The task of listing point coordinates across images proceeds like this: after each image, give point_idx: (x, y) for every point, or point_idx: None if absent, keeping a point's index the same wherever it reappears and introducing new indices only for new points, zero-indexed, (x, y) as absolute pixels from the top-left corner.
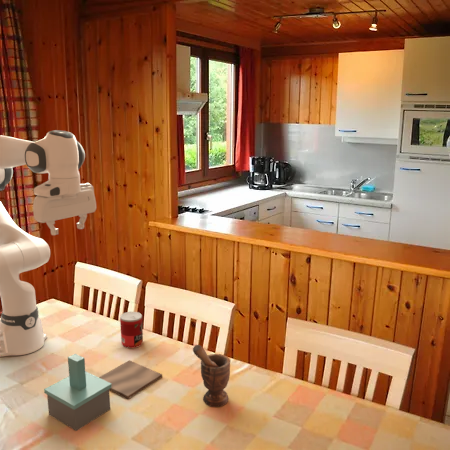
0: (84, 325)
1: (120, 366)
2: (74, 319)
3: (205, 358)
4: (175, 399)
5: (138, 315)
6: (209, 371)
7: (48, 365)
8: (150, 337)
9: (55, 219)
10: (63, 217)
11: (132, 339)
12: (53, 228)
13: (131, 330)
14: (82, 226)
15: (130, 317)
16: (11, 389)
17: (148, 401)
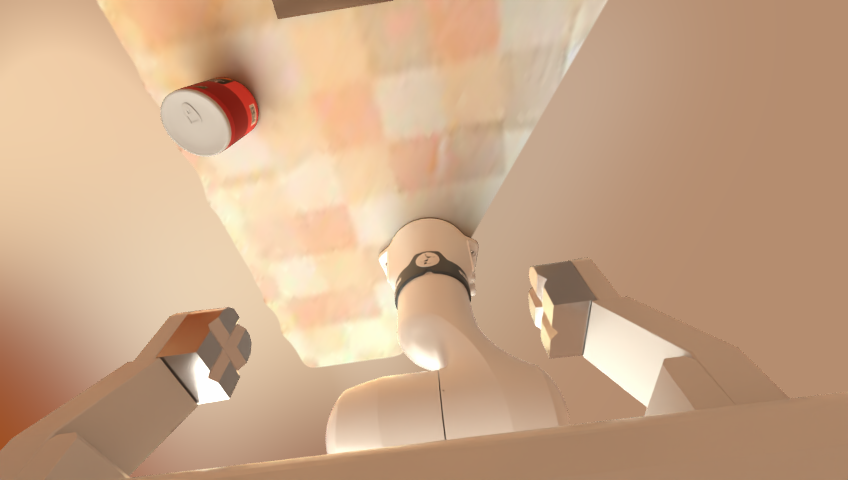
0: (296, 251)
1: (311, 7)
2: (303, 284)
3: None
4: None
5: (172, 114)
6: None
7: (430, 152)
8: None
9: (757, 416)
10: (536, 450)
11: (231, 85)
12: (646, 306)
13: (221, 91)
14: (188, 323)
15: (200, 119)
16: (526, 118)
17: None
